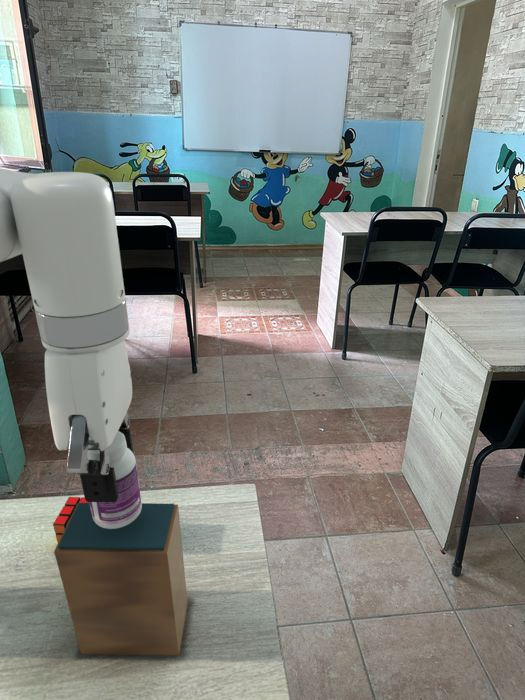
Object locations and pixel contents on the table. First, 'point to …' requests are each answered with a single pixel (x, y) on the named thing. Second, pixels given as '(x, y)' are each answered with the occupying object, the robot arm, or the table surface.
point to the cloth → (119, 530)
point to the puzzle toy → (66, 515)
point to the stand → (127, 596)
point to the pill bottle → (119, 487)
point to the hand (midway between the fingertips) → (111, 477)
